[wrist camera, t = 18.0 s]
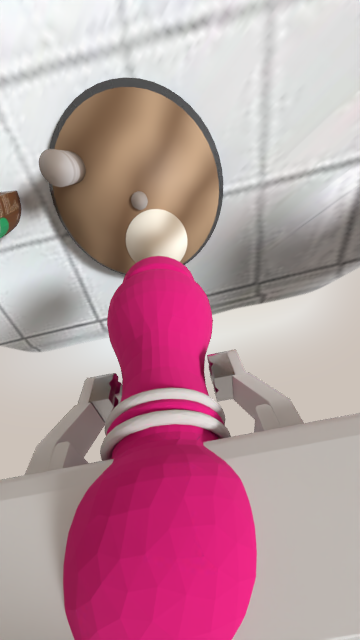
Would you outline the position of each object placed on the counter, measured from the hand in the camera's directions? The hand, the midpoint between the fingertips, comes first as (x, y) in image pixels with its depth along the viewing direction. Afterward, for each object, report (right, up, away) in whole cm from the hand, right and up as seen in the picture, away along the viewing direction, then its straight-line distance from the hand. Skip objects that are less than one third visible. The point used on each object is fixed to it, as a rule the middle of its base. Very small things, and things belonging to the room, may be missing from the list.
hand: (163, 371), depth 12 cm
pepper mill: (-1, +5, +8) cm, 10 cm away
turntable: (-4, +18, +17) cm, 26 cm away
